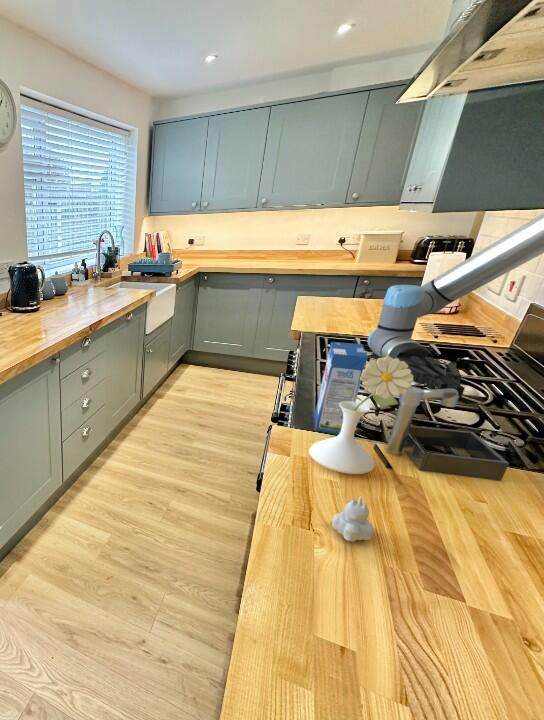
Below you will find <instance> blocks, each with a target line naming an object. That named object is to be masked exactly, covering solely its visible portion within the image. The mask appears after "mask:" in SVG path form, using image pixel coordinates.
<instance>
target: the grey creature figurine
mask: <svg viewBox="0 0 544 720" xmlns="http://www.w3.org/2000/svg"><path fill="white" fill-rule="evenodd" d="M369 514H370V510H369V508H368V505H367V503H366V502H363V498H362V496H360V497H358V498H357V499H352V500H351V501H349V502H348V503H346V505H345V508H344V510H342V511H341V512H338V513H336V514H334V516H333V517H332V523H331V526H332V528H333V530H334V531H337V532H338V533H339V534H340V535H341V536H343V538H344V539H345V540H346V541H348V542H351V543H352V542H353V543H354V542H356V541H369V540H371V538H372V537H373V534H374V526H373V525H372V523H371V522H369V519H368V517H369Z"/></svg>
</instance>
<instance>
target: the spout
mask: <svg viewBox="0 0 544 720" xmlns="http://www.w3.org/2000/svg"><path fill="white" fill-rule="evenodd" d="M458 398H459V395H458V391H457V390H455V389H452V388H450V389H437V388H435V389H422V388H420V387H416V386H411V387H410V388H407V392H406V393H405V394H402V393H401V395H399V399H398V403H399V404H400V403H402V404H404V405H408V406H417V407H419V406H420V404H421V401H423V400H424V401H427V400H440V405H441V406H444V407H447V408H455V407H456V406H457V403H458V401H459V400H458Z"/></svg>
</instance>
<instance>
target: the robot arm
mask: <svg viewBox="0 0 544 720" xmlns="http://www.w3.org/2000/svg"><path fill="white" fill-rule="evenodd" d="M543 254H544V212H543V213H541V214H540V215H538V216H536V217H535V218H533V219H531V220H530V221H528V222H526V223H525V224H523V225H521V226H520V227H518V228H517V229H515V230H513V231H511V232H510V233H508V234H506V235H505V236H503V237H501V238H500V239H498V240H496V241H495V242H493V243H491V244H490V245H488V246H487V247H485V248H483V249H482V250H480V251H478V252H476V253H475V254H473V255H471V256H470V257H468V258H466V259H465V260H463V261H461V262H460V263H458V264H456V265H455V266H452V268H449V269H448V270H446V271H444V272H443V273H442V274H440V275H438V276H436V277H434V278H433V279H431V280H430V281H428V282H426V283H425V284H423V285H416V284H415V285H413V284H396V285H395V284H394V285H392V286H390V287H389V288H388V289H387V291H386V294H385V296H384V298H383V301H382V302H383V304H382V307H381V313H380V315H379V319H378V324H377V327H376V328H375V329H374V330H373V331H372V332H371V333H370V334H368V337H367V345H368V347H369V348H370V350H371V351H372V352H373V354H374V355H376V356H378V357H379V358H385V357H386V356H389V357H391V358H393V359H395V358H397V359H399V360H400V362H401V361H404V362H405V363H406V364H408V368H407V369H410V370H411V374H412V375H413V379H414V380H413V382H414V383H416V384H418V385H422V386H423V385H425V384H427V390H430V389H450V388H452V389H455V390H457V391H458V395H459V398H458V401H461V399H462V397H463V394H464V391H465V386H463V385H461V382H460V381H461V379H462V373H460V371H459V370H458V368H457V365H458V363H457V362H453V361H451V362H445V364H444V363H442V361H440V360H438V359H435V358H434V356H433V354H432V352H431V351H430V350H429V349H428V348H427V347H425V346H423V345H422V344H421V343H419V342H417V341H416V340H414V339H412V336H413V333H414V330H415V327H416V324H417V322H418V319H419V318H422V317H424V316H428V315H432V314H436V313H437V312H439V311H441V310H443V309H444V308H445V307H446V306H448V305H451V303H453V302H455V301H457V300H459V299H461V298H463V297H465V296H466V295H468V294H471V293H472V292H474V291H476V290H477V289H479V288H481V287H483V286H485V285H487V284H489V283H491V282H492V281H494V280H496V279H498V278H500V277H502V276H503V275H505V274H508V273H509V272H511V271H513V270H515V269H517V268H519V267H520V266H522V265H524V264H526V263H528V262H530V261H531V260H533V259H535V258H537V257H539V256H541V255H543Z"/></svg>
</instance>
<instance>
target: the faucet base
mask: <svg viewBox="0 0 544 720" xmlns="http://www.w3.org/2000/svg"><path fill="white" fill-rule="evenodd" d="M417 407H418V406H408V405H404V404H402V403H400V402H399V405H398V409H397V412H396V415H395V419H394V421H393V424H392V428H391V431H390V434H389V437H388V441H387V443H386V446H385V450H384V452H385V453H386V454H388V455H390V456H394V457H400V456H401V455H402V453H403V447H404V444H405V441H406V438H407V435H408V432H409V429H410V426H412V423H413V419H414V416H415V414H416V410H417ZM373 450H374V452H375V453H376V455H377V456H378V458H379V459H380V460H381V462H382V464H383V465H384V467H385V468H386V469H394V467H393V466H392V464H391V463H390V461H389V460H388V459H387V457H386V456H385V455H384V453H383V451H382V450H381V449H380V447H379V446H378V444H377V443H374V445H373Z"/></svg>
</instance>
